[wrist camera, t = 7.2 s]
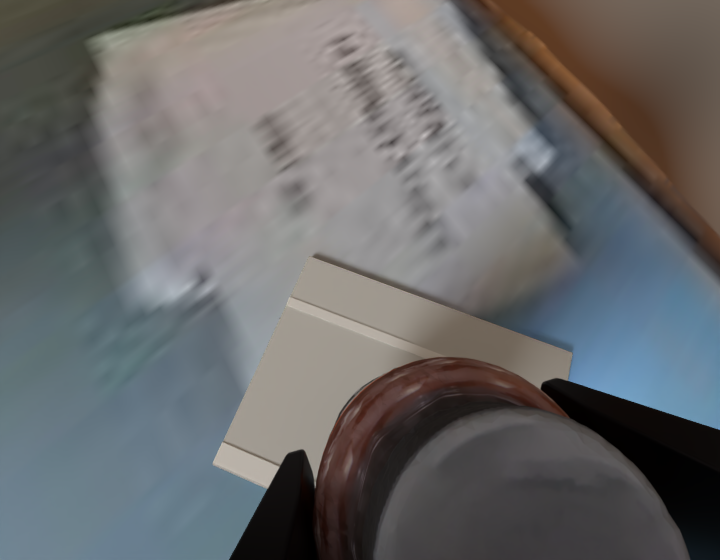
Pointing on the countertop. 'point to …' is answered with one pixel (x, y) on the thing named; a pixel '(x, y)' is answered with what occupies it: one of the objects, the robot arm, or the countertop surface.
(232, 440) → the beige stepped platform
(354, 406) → the supplement bottle
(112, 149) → the countertop surface
